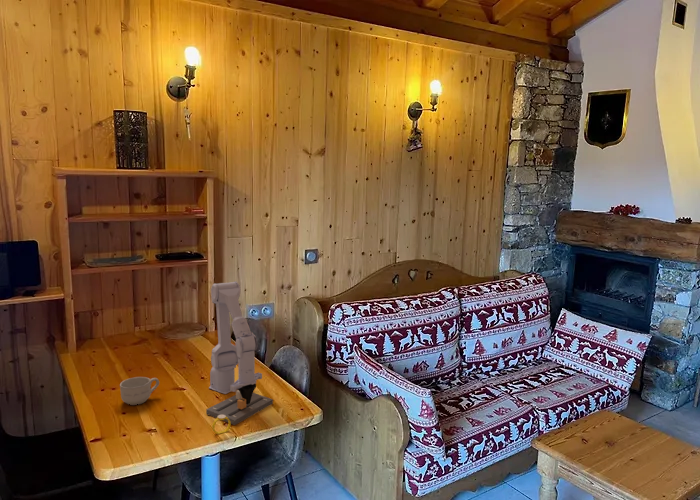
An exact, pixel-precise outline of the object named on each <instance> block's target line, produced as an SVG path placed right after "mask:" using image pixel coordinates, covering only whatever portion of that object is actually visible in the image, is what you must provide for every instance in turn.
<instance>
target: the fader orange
mask: <svg viewBox="0 0 700 500" xmlns="http://www.w3.org/2000/svg"><path fill="white" fill-rule="evenodd" d="M245 407H246V399H244V398H239V400H237V408H239V409H241V410H242V409H243V408H245Z"/></svg>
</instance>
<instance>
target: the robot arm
mask: <svg viewBox="0 0 700 500" xmlns="http://www.w3.org/2000/svg"><path fill="white" fill-rule="evenodd" d="M240 294H241V287H240V283H239V282H238V281H231V282H219V283H212V285H211V288H210V295H211V296H210V298H211V303H212V304H215V307H216V310H215V311H216V323H217V339H218V340H217V341H218V343H217V344H216V345H215V346H214V347H213V348H212V349H211V357H210V361H211V362H210V363H211V366H212V367H211V369H210V373H209V376H210V378H209V380H210V382H209V383H210V385H209V387H208V389H209V390H213V391H215V392H218V393H220V394H224V395H226V394H227V395H228V393H231V392H233V393H236V391H237V390H239V391H240V393H241V396H242V398H244V399H246V404H249V403H250V401H251V397H252V394H253V393H254V391H255V389H256V388H257V380H262V379H263V373H261V372H255V367H256V365H255V351H256V350H257V349H258V340H257V336H256V335H255V334H254V333H253V331H251V328H250V326H249V324H248V319H247V318H246V317H244V316H243V313H242V311H241V310H242V309H241V304H240V300H239V299H240ZM230 317H231V319H232V321H230ZM230 323H231V324H230ZM231 327H232V330H233V334H234V337H235V344H233V343H232V340H231V339H232V337H231ZM237 365H238V367H237ZM235 368H238V378H237V380H235Z"/></svg>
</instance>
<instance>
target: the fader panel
mask: <svg viewBox="0 0 700 500" xmlns="http://www.w3.org/2000/svg"><path fill="white" fill-rule="evenodd" d="M237 400H239V399H236V394H235V395H233V396H231V397H229V398H226V399H224V400H222V401H221V402H219V403H216V404H214V405H212V406H210V407H209V408H206V410H205V411H206V415H208V416H210V417H212V418H215V419H216V418H217V416H218V415H225V416H226V417H227V418H228V419H229V420H230V422H231V425H233V426H235V425H238V424H239V423H241V422H243V421H245V420H246V419H248V418H250V417H252V416H254V415H256V414H257V413H259V412H261V411H262V410H264V409H266V408H267V407H270V406H271V405H273V404H274V403H273V402H274V400H273V399H272V398H269V397H267V396H264V395H261V394H258V393H255V392H253V394H252V397H251V401H250V403H249V404H246V407H245V408H243V409H242V410H241V409H239V408H237ZM228 419H224V420H222V421H223V422H225V423H228Z"/></svg>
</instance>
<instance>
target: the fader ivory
mask: <svg viewBox="0 0 700 500" xmlns="http://www.w3.org/2000/svg"><path fill="white" fill-rule="evenodd" d="M235 395H236V399H239V398H242V396H241V393H240V391H239V390H238V389H237V390H236V391H235Z"/></svg>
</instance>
